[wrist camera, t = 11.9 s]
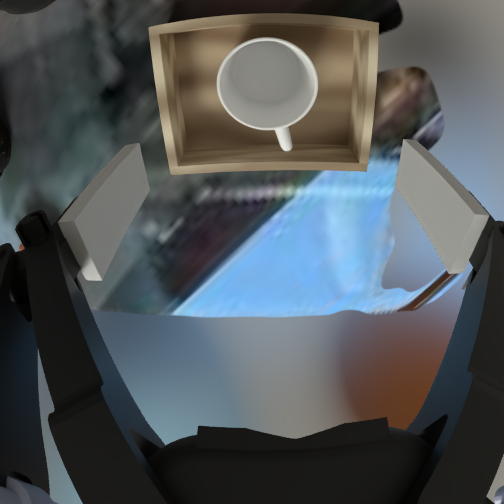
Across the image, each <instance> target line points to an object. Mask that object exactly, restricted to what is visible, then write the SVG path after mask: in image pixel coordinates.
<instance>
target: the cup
mask: <svg viewBox="0 0 504 504" xmlns="http://www.w3.org/2000/svg"><path fill="white" fill-rule="evenodd" d="M217 91H218V95H219V98H220V101H221V103H222V105H223V107H224V108H225V109H226V111H227V112H228V113H229V114H230V115H231V116H232V117H233V118H234V119H236V120H237V121H239V122H240V123H242V124H244V125H246V126H248V127H251V128H255V129H260V130H275V132H276V135H277V138H278V141H279V143H280V146H281V148H282V149H283V150H284V151H290V150H291V149H292V140H291V136H290V131H289V127H288V126H290V125H292V124H294V123H296V122H297V121H299V120H300V119H302V118H303V117H304V116H305V115H306V114H307V113H308V112H309V110H310V109H311V107H312V106H313V104H314V102H315V99H316V97H317V92H318V76H317V72H316V69H315V67H314V65H313V63H312V61H311V60H310V58H309V57H308V56H307V54H306V53H305V52H304V51H302V50H301V49H300V48H299V47H297V46H296V45H294V44H292V43H290V42H288V41H285V40H282V39H278V38H271V37H263V38H256V39H252V40H249V41H246V42H244V43H242V44H240V45H238V46H237V47H235V48H234V49H233V50H232V51H231V52H230V53H229V54H228V55H227V56H226V57H225V59H224V60H223V62H222V64H221V66H220V68H219V71H218V75H217Z"/></svg>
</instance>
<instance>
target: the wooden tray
mask: <svg viewBox="0 0 504 504" xmlns="http://www.w3.org/2000/svg"><path fill="white" fill-rule="evenodd" d="M149 37H150V45H151V54H152V62H153V70H154V77H155V84H156V91H157V98H158V104H159V111H160V117H161V123H162V129H163V135H164V141H165V146H166V152H167V157H168V162H169V168H170V173H171V175H179V174H193V173H208V172H228V171H256V170H337V171H364V172H367V166H368V159H369V151H370V144H371V135H372V127H373V117H374V107H375V96H376V83H377V65H378V42H379V23H377V22H371V21H365V20H359V19H352V18H344V17H335V16H325V15H312V14H289V13H261V14H239V15H225V16H215V17H206V18H198V19H191V20H185V21H179V22H173V23H168V24H162V25H158V26H153V27H149ZM263 37H271V38H278V39H282V40H285V41H288V42H290V43H292V44H294V45H296V46H297V47H299V48H300V49H301V50H302V51H304V52H305V53H306V54H307V56H308V57H309V58H310V60H311V61H312V63H313V65H314V67H315V69H316V72H317V76H318V92H317V97H316V99H315V102H314V104H313V106H312V107H311V109H310V110H309V112H308V113H307V114H306V115H305V116H304V117H303V118H302V119H300V120H299V121H297V122H296V123H294V124H292V125H290V126H288V127H289V131H290V136H291V140H292V149H291V150H290V151H284V150H283V149H282V148H281V146H280V143H279V141H278V138H277V135H276V132H275V130H260V129H255V128H251V127H248V126H246V125H244V124H242V123H240V122H239V121H237V120H236V119H234V118H233V117H232V116H231V115H230V114H229V113H228V112H227V111H226V109H225V108H224V107H223V105H222V103H221V101H220V98H219V95H218V91H217V75H218V71H219V68H220V66H221V64H222V62H223V60H224V59H225V57H226V56H227V55H228V54H229V53H230V52H231V51H232V50H233V49H234V48H235V47H237V46H238V45H240V44H242V43H244V42H246V41H249V40H252V39H256V38H263Z"/></svg>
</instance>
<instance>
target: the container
mask: <svg viewBox="0 0 504 504" xmlns="http://www.w3.org/2000/svg"><path fill="white" fill-rule="evenodd" d="M10 155H11V144H10V139H9V135H8V132H7V130H6V128H5V126H4V124H3V123H2V122H1V121H0V177H1V175H2V172H3V170H4V169H5V168H6V166H7V165H8V163H9V160H10Z"/></svg>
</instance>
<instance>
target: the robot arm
mask: <svg viewBox="0 0 504 504" xmlns="http://www.w3.org/2000/svg"><path fill="white" fill-rule="evenodd" d="M54 1H55V0H0V10H3V11H6V12H8V13H11V14H26V13H32V12H36V11H39V10H41V9H43V8H45V7H47V6H48V5H50V4H51V3H52V2H54ZM395 187H396V189H397V190H398V191H399V193H400V194H401V196H402V197H403V199H404V200H405V202H406V203H407V205H408V206H409V208H410V209H411V211H412V212H413V214H414V215H415V217H416V218H417V220H418V221H419V223H420V225H421V226H422V228H423V230H424V231H425V233H426V234H427V236H428V238H429V239H430V241H431V243H432V245H433V246H434V248H435V250H436V251H437V253H438V255H439V257H440V258H441V260H442V262H443V264H444V266H445V268H446V269H447V271H448V273H449V274H453V273H463V272H464V270H465V268H466V266H467V264H468V262H469V261H470V263H471V264H472V266H473V269H472V271H471V273H470V275H469V277H468V278H467V280H466V282H465V284H464V286H463V288H462V289H465V288H466V290H465V294H464V298H463V301H462V305H461V308H460V312H459V315H458V318H457V321H456V324H455V327H454V331H453V333H452V336H451V339H450V342H449V345H448V347H447V350H446V353H445V355H444V358H443V360H442V363H441V365H440V368H439V370H438V373H437V375H436V377H435V380H434V382H433V384H432V386H431V389H430V391H429V393H428V395H427V398H426V400H425V401H424V404H423V406H422V408H421V410H420V411H419V413H418V415H417V416H416V418H415V419H414V420H413V422H412V423H411V424H410V425H409V427H408V428H407V429H406V431H405V430H402V429H398V428H393V427H388V421H387V417H385V418H379V419H374V420H366V421H359V422H352V423H344V424H341V425H339V426H336V427H333V428H330V429H327V430H324V431H321V432H318V433H315V434H312V435H309V436H306V437H302V438H298V439H291V438H286V437H281V436H276V435H272V434H267V433H262V432H259V431H254V430H250V429H247V428H226V427H209V426H198V432H197V435H193V436H189V437H185V438H181V439H179V440H176V441H174V442H171V443H169V444H168V445H166V446H165V444H164V443H163V442H162V440H161V439H160V438H159V437H158V435H157V434H156V433H155V432H154V430H153V429H152V428H151V427H150V425H149V424H148V423H147V421H146V420H145V418H144V416H143V415H142V413H141V411H140V410H139V408H138V406H137V405H136V403H135V401H134V399H133V397H132V396H131V394H130V392H129V390H128V388H127V387H126V385H125V383H124V381H123V379H122V377H121V375H120V374H119V372H118V369H117V367H116V365H115V364H114V361H113V360H112V357H111V355H110V353H109V351H108V349H107V347H106V345H105V343H104V341H103V338H102V336H101V334H100V331H99V329H98V327H97V324H96V322H95V320H94V317H93V315H92V313H91V310H90V308H89V305H88V302H87V300H86V297H85V295H84V292H83V289H82V287H81V284H80V282H79V280H78V278H77V274H78V272H79V271H80V269H81V271H82V273H83V275H84V277H85V278H86V280H101V281H102V280H103V278H104V276H105V274H106V271H107V269H108V267H109V265H110V263H111V261H112V259H113V257H114V255H115V253H116V251H117V249H118V247H119V245H120V243H121V241H122V239H123V238H124V236H125V234H126V232H127V230H128V228H129V226H130V224H131V223H132V221H133V219H134V217H135V215H136V214H137V212H138V210H139V208H140V206H141V205H142V203H143V201H144V199H145V198H146V196H147V194H148V193H149V191H150V188H149V184H148V180H147V176H146V172H145V167H144V163H143V159H142V154H141V150H140V145H139V143H136V144H130V145H125V146H124V147H123V148H122V149H121V150H120V151H119V152H118V153H117V154H116V155H115V156H114V158H113V159H112V160H111V161H110V162H109V163H108V164H107V165H106V166H105V167H104V168H103V169H102V170H101V171H100V172H99V174H98V175H97V176H96V177H95V178H94V179H93V180H92V181H91V183H90V184H89V185H88V186H87V187H86V188H85V189H84V191H83V192H82V193H81V194H80V195H79V196H78V197H76V198H75V199H74V200H73V201H72V202H71V203H70V205H69V206H68V208H66V210H65V211H64V212H63V214H62V215H61V216H60V217H59V218H58V220H57V221H56V222H55V224H54V225H53V226H52V227H51V225H50V223H49V221H48V219H47V216H46V214H45V212H44V211H41V210H39V211H35V212H33V213H30V214H29V215H27V216H26V217H24V218H23V219H22V220H21V221H20V222H19V223H18V224H17V226H16V229H15V230H16V232H17V234H18V236H19V238H20V240H21V242H22V244H23V246H24V248H25V249H23V250H21V251H18V252H15V250H14V249H13V247H12V245H11V244H10V243H6V244H3V245H1V246H0V504H57V503H55V502H53V501H52V499H51V498H50V493H49V492H50V491H49V490H50V489H49V477H48V468H47V462H46V455H45V449H44V443H43V436H42V428H41V419H40V407H39V394H38V357H37V356H38V349H39V354H40V358H41V362H42V366H43V370H44V374H45V378H46V381H47V384H48V388H49V391H50V395H51V398H52V401H53V404H54V408H55V410H54V412H53V413H51V414H49V417H48V422H49V427H50V430H51V433H52V436H53V438H54V441H55V444H56V446H57V449H58V451H59V454H60V456H61V459H62V461H63V463H64V466H65V468H66V470H67V472H68V475H69V477H70V479H71V481H72V483H73V485H74V487H75V489H76V491H77V493H78V495H79V497H80V499H81V501H82V503H83V504H494V503H493V502H492V501H491V500H490V499H488V498H487V497H486V496H487V494H488V491H489V489H490V487H491V485H492V482H493V480H494V478H495V475H496V473H497V470H498V467H499V465H500V462H501V459H502V457H503V454H504V222H503V221H495V220H494V219H493V218H492V216H491V215H490V214H489V213H488V212H487V210H486V209H485V208H484V207H483V206H482V205H481V203H480V202H479V201H477V199H476V198H475V197H474V196H473V194H472V193H471V192H469V191H468V190H467V189H466V188H465V187H464V186H463V185H462V184H461V183H460V182H459V181H458V180H457V179H456V178H455V177H454V176H453V175H452V174H451V173H450V172H449V171H448V170H447V169H446V168H445V167H444V166H443V165H442V164H441V163H440V162H439V161H438V160H437V159H436V158H435V157H434V156H433V155H432V154H430V152H428V151H427V150H426V149H425V148H424V147H423V146H422V145H421V144H420V143H418V142H417V141H416V140H408V139H403V145H402V151H401V157H400V162H399V167H398V172H397V177H396V182H395ZM11 299H12V300H11ZM494 502H495V504H504V486H502V487H500V488H499V489H498V490H497V491H496V493H495V496H494Z"/></svg>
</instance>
